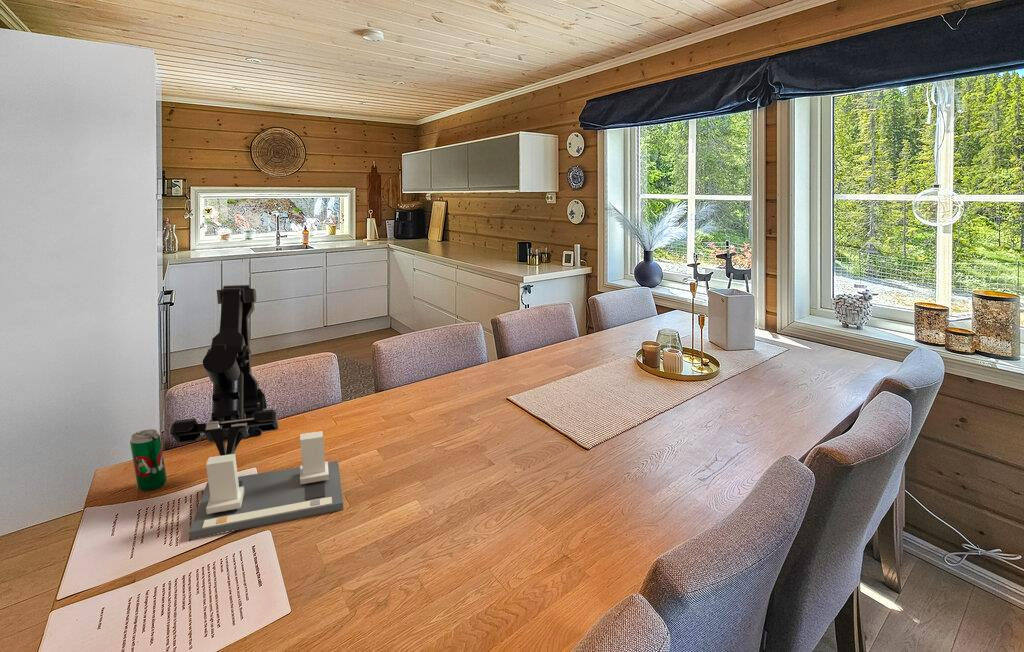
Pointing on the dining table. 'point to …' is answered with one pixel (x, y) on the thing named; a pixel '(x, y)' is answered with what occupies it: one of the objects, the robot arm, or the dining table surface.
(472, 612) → the dining table surface
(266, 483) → the switch board
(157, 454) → the soda can
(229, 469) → the tab front
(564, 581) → the dining table surface
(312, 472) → the tab
